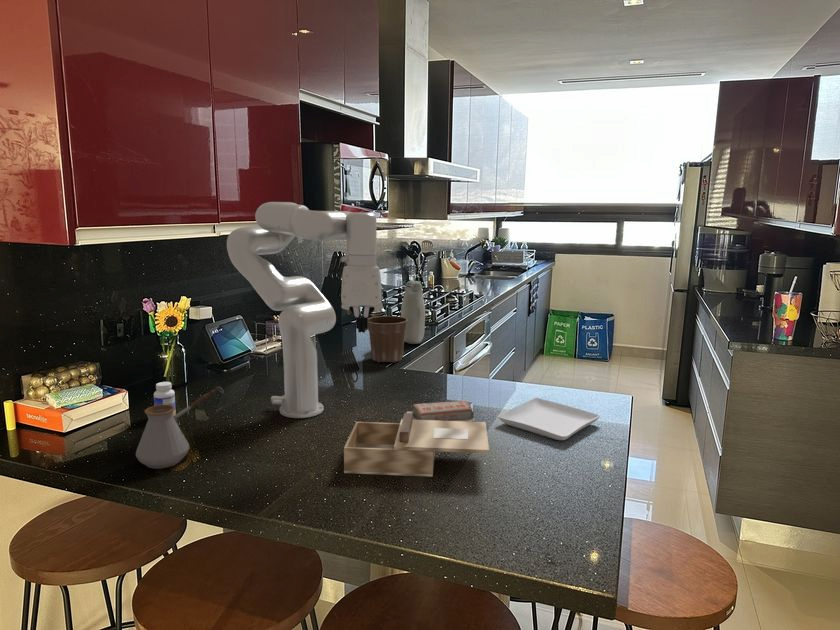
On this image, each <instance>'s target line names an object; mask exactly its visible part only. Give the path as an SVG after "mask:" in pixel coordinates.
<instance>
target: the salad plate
mask: <svg viewBox="0 0 840 630" xmlns="http://www.w3.org/2000/svg"><path fill="white" fill-rule="evenodd" d="M497 418H498V419H499V420H500V421H501V422H502V423H504V424H506V425H508V426H511V427H514V428H518V429H520V430H524V431H526V430H527V432H529V431H530V432H529V433H532V432H533V434H536V435H540V436H542V437H545V436H546V437H547V438H550V439H552V440H556V441H565V440H568V439H569V438H570V437H571V436H573V435H574V434H576V433H578V432H579V431H581V430H583V429H585V428H587V427H588V426H590V425H591V424H593V423H595V422H596V421H597V420H599V419H600V418H601V415H600V414H597V413H594V412H591V411H587V410H584V409H580V408H577V407H573V406H570V405H566V404H562V403H559V402H556V401H553V400H552V401H551V400H548V399H545V398H544V399H543V398H539V397H533V398H532V399H529V400H528V401H525V402H523V403H521V404H519V405H516V406H515V407H513V408H511V409H508V410H507V411H505V412H503V413H499V415H498V414H497ZM546 437H545V438H546Z"/></svg>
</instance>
